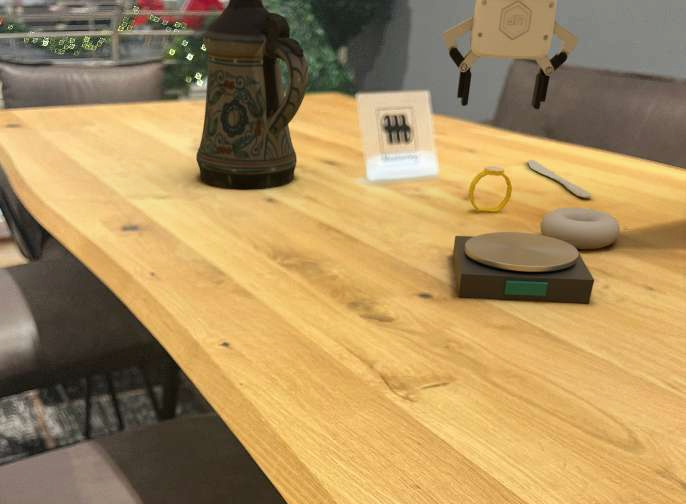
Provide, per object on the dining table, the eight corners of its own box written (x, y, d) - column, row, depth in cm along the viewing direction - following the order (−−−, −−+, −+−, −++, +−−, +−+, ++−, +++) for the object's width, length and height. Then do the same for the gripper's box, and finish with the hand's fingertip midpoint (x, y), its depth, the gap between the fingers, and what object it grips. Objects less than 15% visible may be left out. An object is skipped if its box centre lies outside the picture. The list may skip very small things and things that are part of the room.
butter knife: (576, 195, 117) (595, 194, 118) (521, 160, 139) (536, 159, 140) (576, 199, 118) (594, 198, 118) (520, 163, 140) (536, 162, 140)
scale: (567, 261, 94) (572, 237, 92) (589, 304, 82) (595, 278, 80) (452, 256, 95) (455, 232, 93) (458, 298, 83) (461, 272, 81)
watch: (469, 214, 111) (474, 170, 107) (464, 208, 113) (470, 166, 110) (509, 213, 111) (516, 170, 108) (504, 208, 113) (511, 165, 110)
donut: (533, 248, 98) (615, 256, 95) (537, 221, 96) (621, 228, 93) (542, 227, 106) (618, 234, 103) (546, 202, 104) (623, 207, 101)
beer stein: (215, 164, 135) (205, -4, 121) (322, 170, 132) (325, -2, 118) (183, 186, 122) (168, 0, 108) (302, 194, 119) (302, 3, 105)
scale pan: (567, 239, 91) (568, 234, 91) (587, 274, 81) (588, 269, 81) (461, 234, 92) (462, 229, 92) (467, 269, 82) (468, 263, 82)
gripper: (454, -51, 92) (436, 107, 102) (600, -46, 90) (568, 113, 100) (451, -50, 98) (435, 99, 108) (588, -46, 97) (559, 104, 107)
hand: (499, 105), depth 104 cm, fingers open, 9 cm apart
